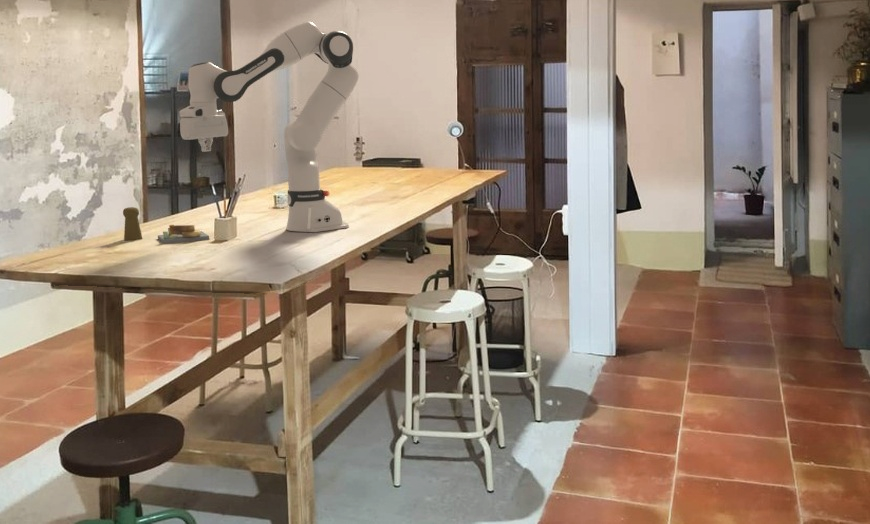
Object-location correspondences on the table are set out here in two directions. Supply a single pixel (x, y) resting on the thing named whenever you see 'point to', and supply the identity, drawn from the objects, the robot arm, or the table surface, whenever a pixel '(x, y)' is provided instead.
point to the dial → (184, 230)
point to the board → (180, 237)
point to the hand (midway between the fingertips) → (206, 151)
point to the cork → (131, 224)
